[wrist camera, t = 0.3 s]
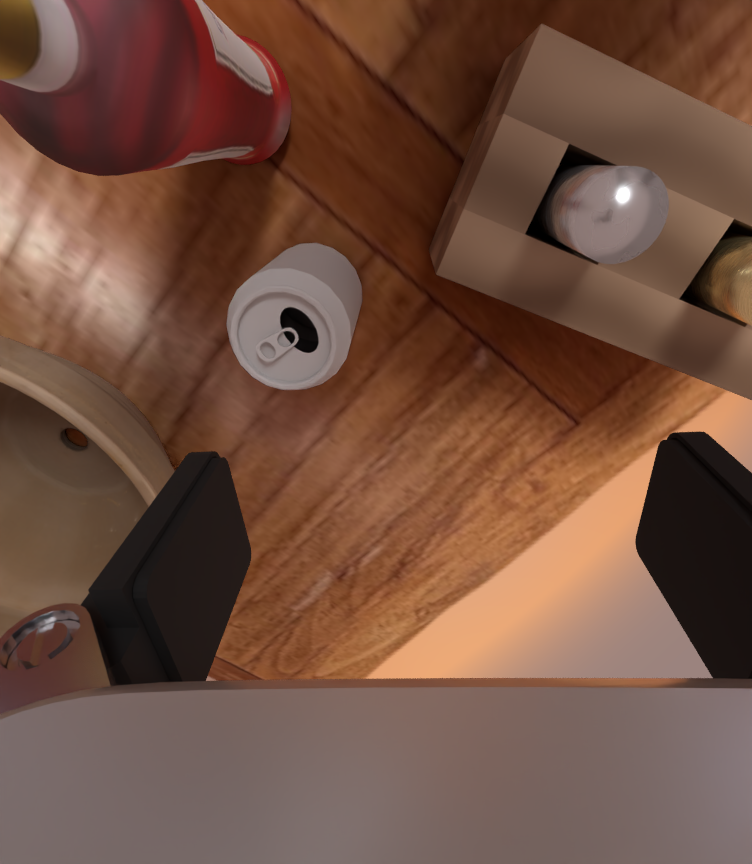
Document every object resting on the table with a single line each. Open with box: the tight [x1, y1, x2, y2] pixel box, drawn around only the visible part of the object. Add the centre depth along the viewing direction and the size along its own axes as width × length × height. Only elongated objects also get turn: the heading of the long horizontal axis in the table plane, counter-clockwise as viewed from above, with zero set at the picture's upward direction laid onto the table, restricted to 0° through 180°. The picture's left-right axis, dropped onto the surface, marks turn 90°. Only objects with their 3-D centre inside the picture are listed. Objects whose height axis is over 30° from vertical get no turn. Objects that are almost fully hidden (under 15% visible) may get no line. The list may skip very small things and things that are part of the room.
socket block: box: [429, 23, 752, 400], centre depth 30 cm, size 12×22×9 cm, turn 70°
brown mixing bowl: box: [0, 336, 175, 638], centre depth 40 cm, size 28×28×13 cm
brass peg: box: [684, 231, 752, 326], centre depth 26 cm, size 4×4×8 cm
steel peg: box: [533, 165, 669, 264], centre depth 25 cm, size 4×4×8 cm
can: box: [226, 243, 362, 390], centre depth 32 cm, size 8×8×12 cm
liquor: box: [0, 0, 291, 176], centre depth 20 cm, size 7×7×28 cm
